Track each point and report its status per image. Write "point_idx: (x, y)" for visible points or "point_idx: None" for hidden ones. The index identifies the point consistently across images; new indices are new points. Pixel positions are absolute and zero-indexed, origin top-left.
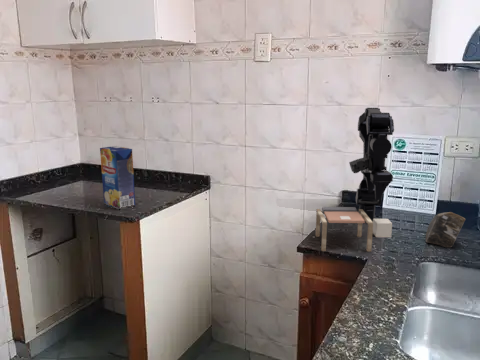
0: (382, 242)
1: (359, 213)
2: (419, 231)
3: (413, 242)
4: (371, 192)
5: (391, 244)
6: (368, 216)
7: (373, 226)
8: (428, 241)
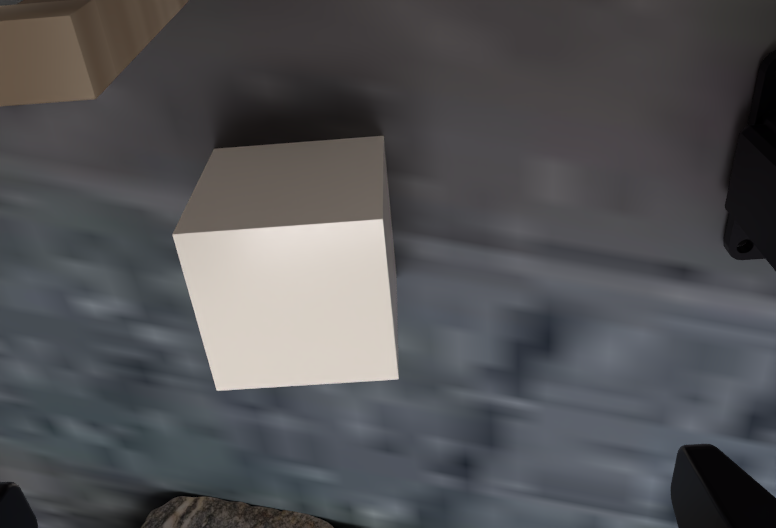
0: (67, 183)
1: (21, 6)
2: (440, 507)
3: (157, 421)
4: (673, 495)
5: (39, 253)
6: (759, 184)
7: (340, 175)
8: (149, 515)
